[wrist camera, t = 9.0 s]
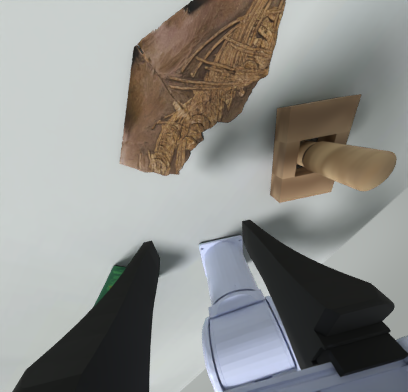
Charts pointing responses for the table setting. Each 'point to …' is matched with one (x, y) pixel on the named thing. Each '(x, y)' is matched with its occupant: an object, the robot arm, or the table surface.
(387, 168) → the peg
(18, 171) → the table surface
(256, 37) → the wooden fragment
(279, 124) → the board
